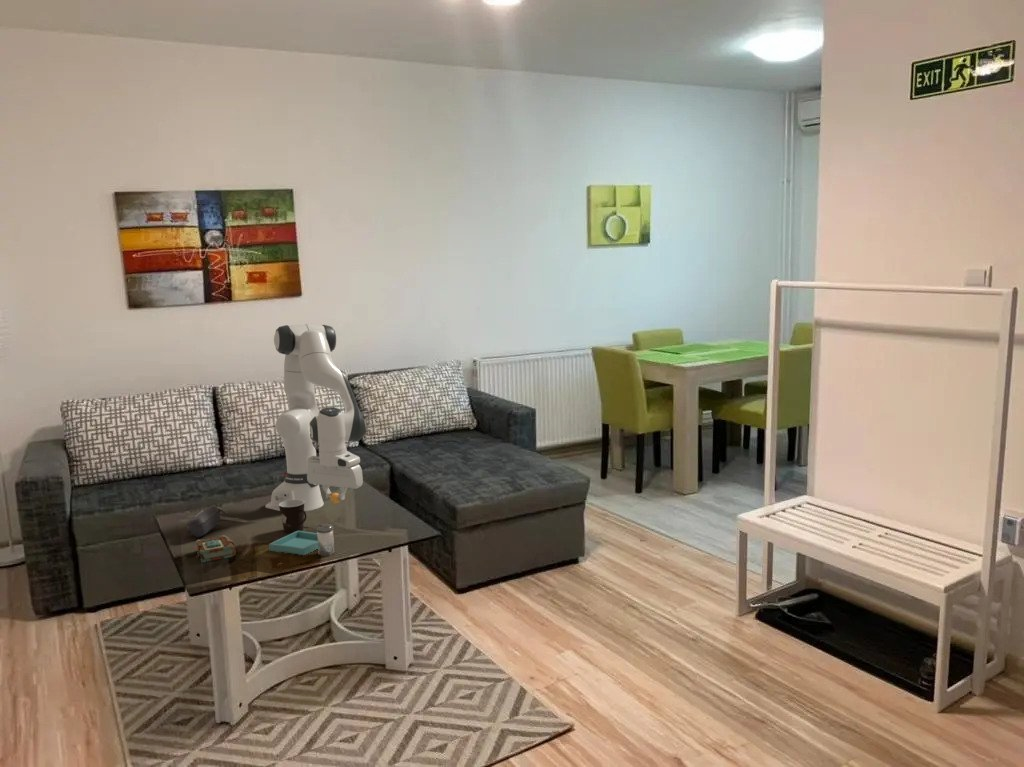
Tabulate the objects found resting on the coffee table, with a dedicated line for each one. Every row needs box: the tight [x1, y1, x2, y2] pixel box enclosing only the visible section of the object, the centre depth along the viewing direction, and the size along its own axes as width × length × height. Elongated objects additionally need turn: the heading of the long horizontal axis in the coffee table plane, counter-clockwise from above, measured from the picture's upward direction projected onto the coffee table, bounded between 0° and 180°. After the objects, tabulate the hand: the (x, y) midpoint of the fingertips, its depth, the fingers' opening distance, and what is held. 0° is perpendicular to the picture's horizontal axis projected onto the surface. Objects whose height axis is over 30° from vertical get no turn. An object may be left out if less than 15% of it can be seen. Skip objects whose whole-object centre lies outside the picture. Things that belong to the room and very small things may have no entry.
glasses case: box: [186, 505, 229, 538], centre depth 286 cm, size 18×10×8 cm, turn 179°
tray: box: [268, 530, 318, 557], centre depth 268 cm, size 14×14×2 cm
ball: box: [329, 492, 341, 504], centre depth 270 cm, size 4×4×4 cm
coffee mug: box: [279, 500, 307, 534], centre depth 283 cm, size 12×9×10 cm
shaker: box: [315, 523, 335, 557], centre depth 261 cm, size 5×5×9 cm
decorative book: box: [195, 535, 237, 563], centre depth 266 cm, size 13×18×5 cm
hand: (335, 498), depth 270 cm, fingers closed on ball, 3 cm apart
